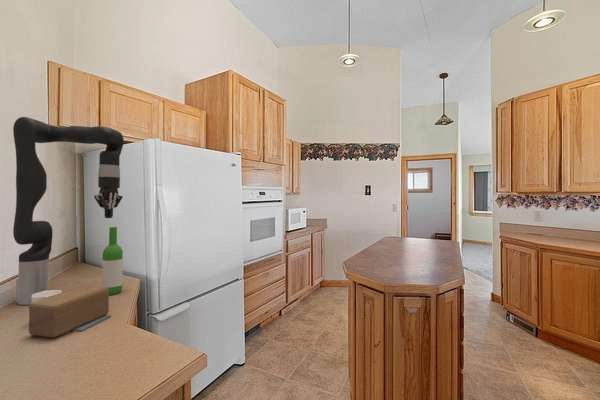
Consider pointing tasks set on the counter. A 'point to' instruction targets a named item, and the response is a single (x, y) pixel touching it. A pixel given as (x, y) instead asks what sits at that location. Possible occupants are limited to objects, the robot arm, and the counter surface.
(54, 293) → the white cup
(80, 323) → the wooden block
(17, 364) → the counter surface
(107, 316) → the slate rubber mat
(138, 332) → the counter surface
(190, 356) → the counter surface
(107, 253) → the wine bottle
